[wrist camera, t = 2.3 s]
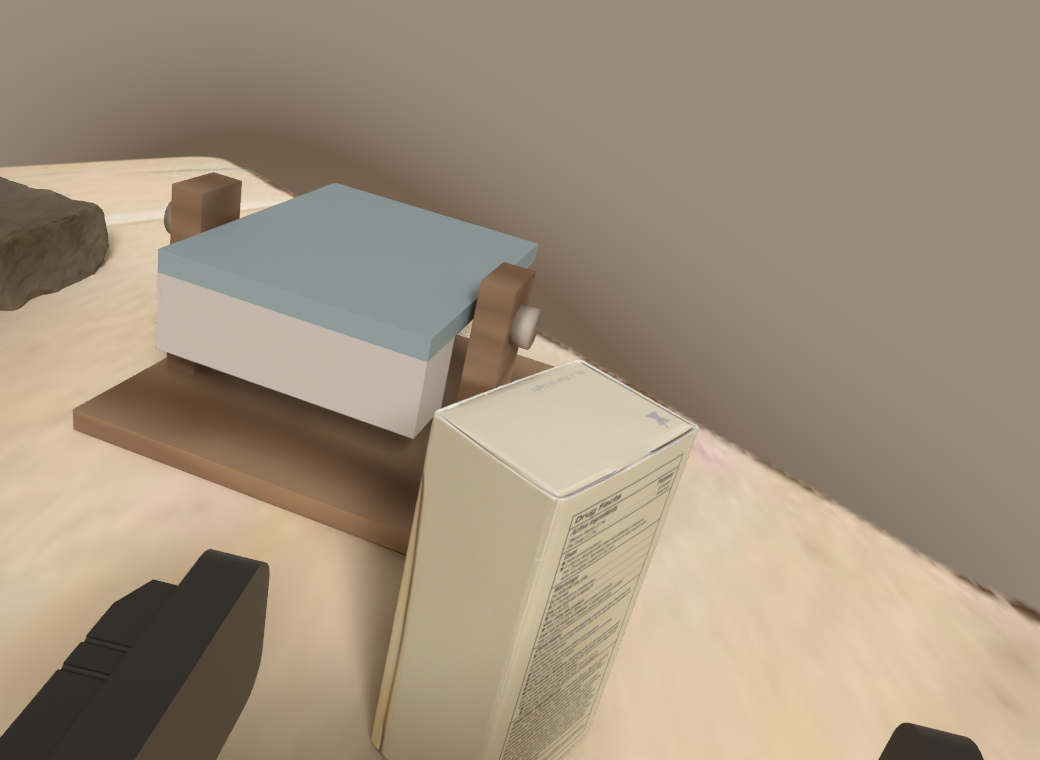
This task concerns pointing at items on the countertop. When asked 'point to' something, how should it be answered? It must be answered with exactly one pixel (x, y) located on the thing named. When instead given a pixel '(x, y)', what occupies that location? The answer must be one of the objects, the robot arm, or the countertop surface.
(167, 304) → the trapdoor flap
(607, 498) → the skincare box
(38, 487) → the countertop surface
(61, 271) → the grey brown flat block
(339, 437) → the frame
